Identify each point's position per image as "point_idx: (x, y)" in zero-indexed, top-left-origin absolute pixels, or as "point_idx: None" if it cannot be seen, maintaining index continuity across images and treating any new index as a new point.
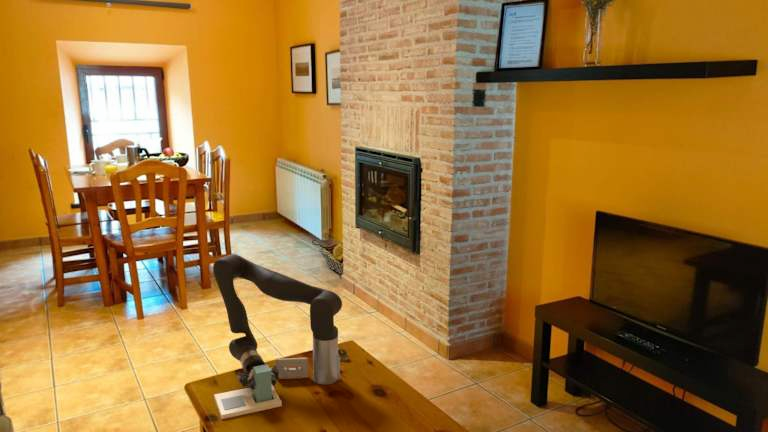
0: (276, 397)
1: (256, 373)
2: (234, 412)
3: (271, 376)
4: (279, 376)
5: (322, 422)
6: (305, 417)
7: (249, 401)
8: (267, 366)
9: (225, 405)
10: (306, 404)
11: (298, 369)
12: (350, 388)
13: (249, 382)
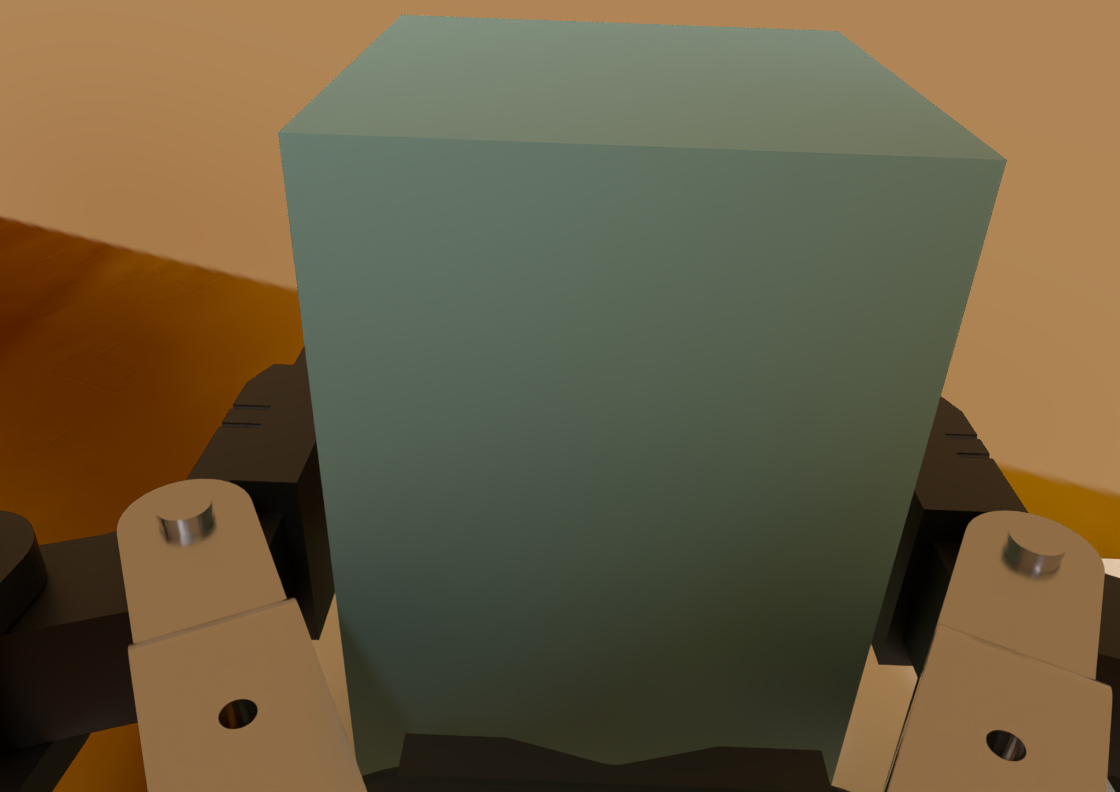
0: (337, 666)
1: (837, 34)
2: (1110, 560)
3: (297, 440)
4: None
5: (171, 284)
6: (244, 357)
7: (883, 739)
8: (383, 80)
9: None
10: (25, 505)
11: None
12: None
13: (988, 480)
